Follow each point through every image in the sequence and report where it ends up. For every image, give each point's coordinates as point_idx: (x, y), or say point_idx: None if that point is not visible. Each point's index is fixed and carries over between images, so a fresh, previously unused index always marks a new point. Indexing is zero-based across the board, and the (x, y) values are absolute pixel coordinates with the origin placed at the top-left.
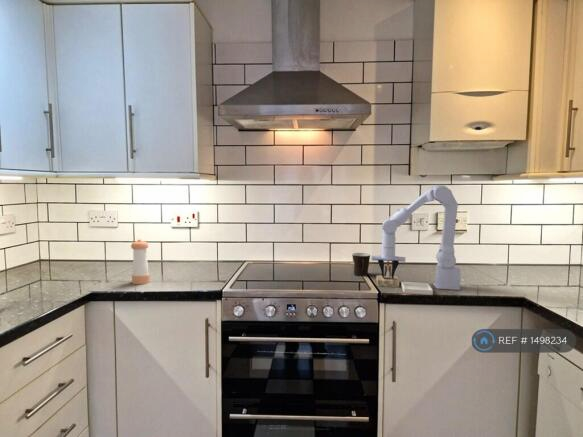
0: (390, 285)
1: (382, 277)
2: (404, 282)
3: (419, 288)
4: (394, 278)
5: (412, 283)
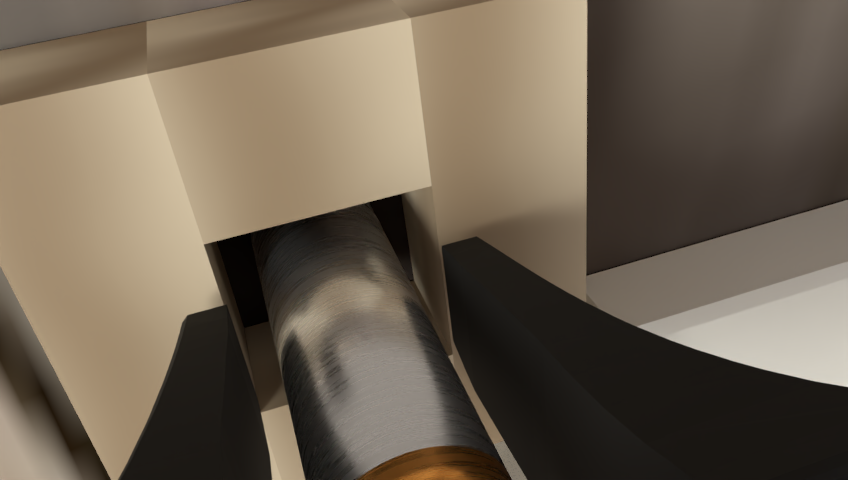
0: None
1: (196, 297)
2: (671, 328)
3: (827, 320)
4: (506, 250)
5: (796, 282)
